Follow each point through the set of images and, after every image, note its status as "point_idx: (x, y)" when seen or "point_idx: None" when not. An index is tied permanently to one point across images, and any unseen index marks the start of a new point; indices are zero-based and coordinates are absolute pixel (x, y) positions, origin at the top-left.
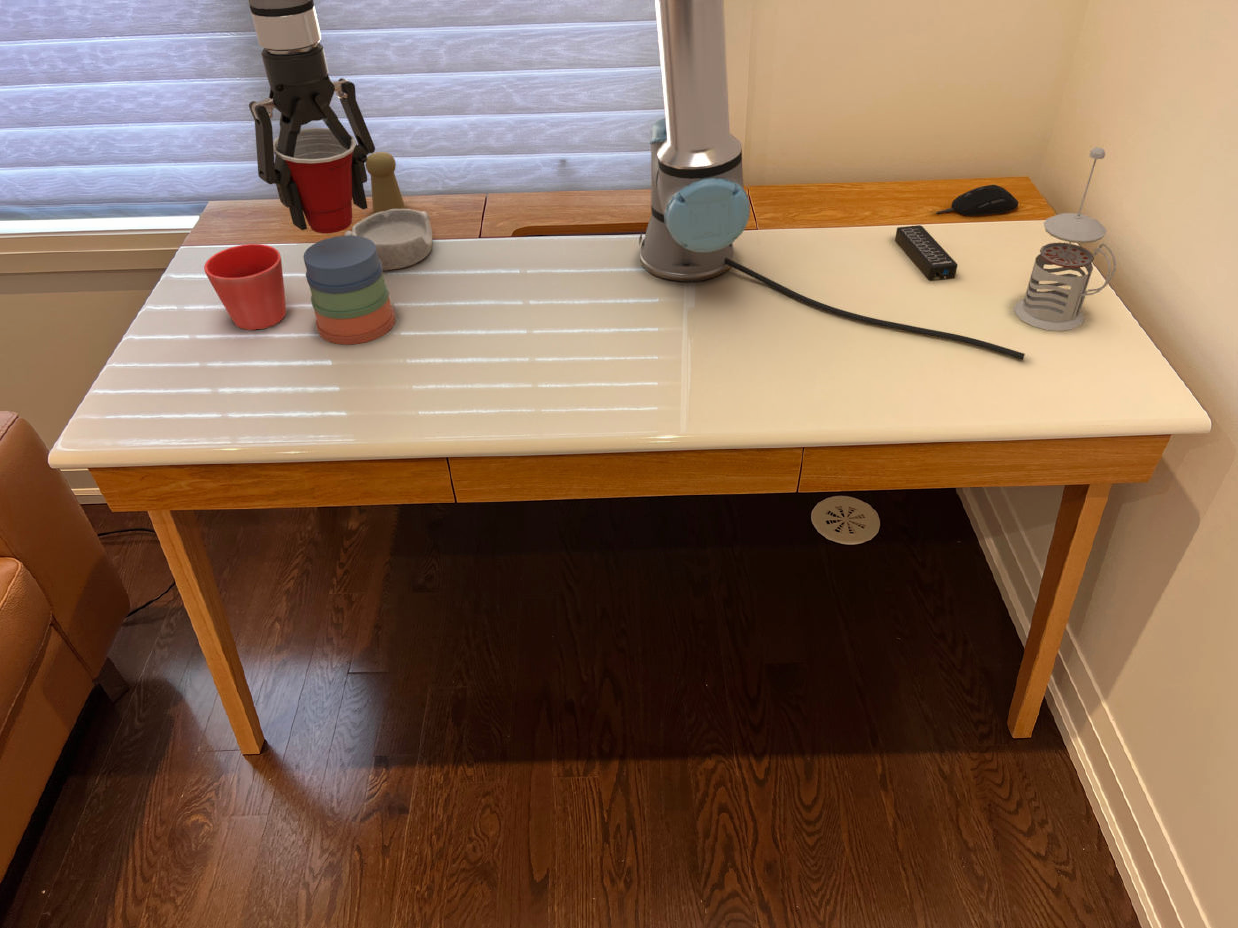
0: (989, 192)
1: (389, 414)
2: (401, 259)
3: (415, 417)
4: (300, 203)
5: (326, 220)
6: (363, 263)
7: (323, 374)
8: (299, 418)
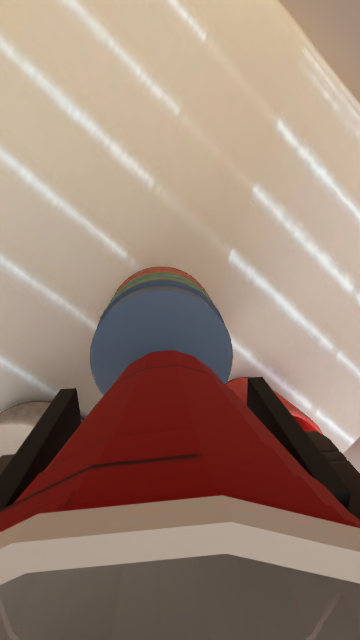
0: None
1: (237, 70)
2: (43, 407)
3: (215, 30)
4: (280, 425)
5: (202, 366)
6: (145, 291)
7: (251, 235)
8: (323, 159)
